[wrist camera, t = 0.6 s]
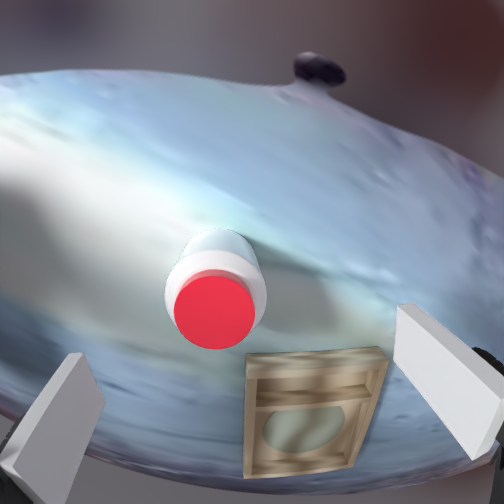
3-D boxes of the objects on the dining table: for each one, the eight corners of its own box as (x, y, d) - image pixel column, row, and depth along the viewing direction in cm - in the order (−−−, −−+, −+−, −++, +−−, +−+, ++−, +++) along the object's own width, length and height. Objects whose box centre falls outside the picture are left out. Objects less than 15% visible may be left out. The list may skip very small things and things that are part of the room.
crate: (242, 461, 39) (243, 478, 36) (245, 353, 34) (247, 371, 31) (346, 451, 40) (352, 467, 37) (377, 346, 35) (389, 361, 32)
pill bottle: (196, 312, 32) (184, 373, 22) (168, 243, 30) (138, 280, 20) (267, 289, 32) (285, 343, 22) (242, 217, 30) (251, 242, 20)
